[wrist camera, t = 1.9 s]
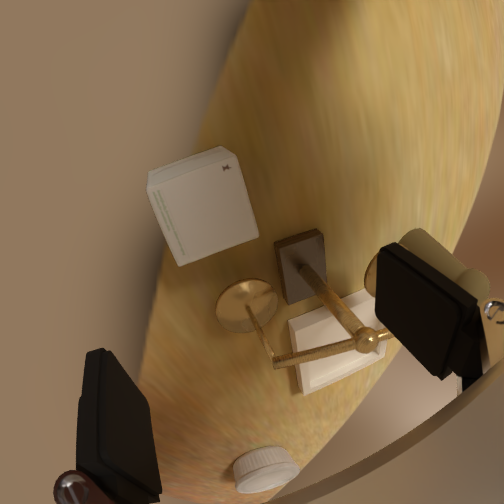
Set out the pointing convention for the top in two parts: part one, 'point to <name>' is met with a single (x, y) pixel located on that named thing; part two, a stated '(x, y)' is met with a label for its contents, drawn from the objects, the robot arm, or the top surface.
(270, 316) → the balance
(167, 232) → the small box
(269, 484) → the ramekin
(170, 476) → the top surface
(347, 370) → the dish
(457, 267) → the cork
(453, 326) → the robot arm
